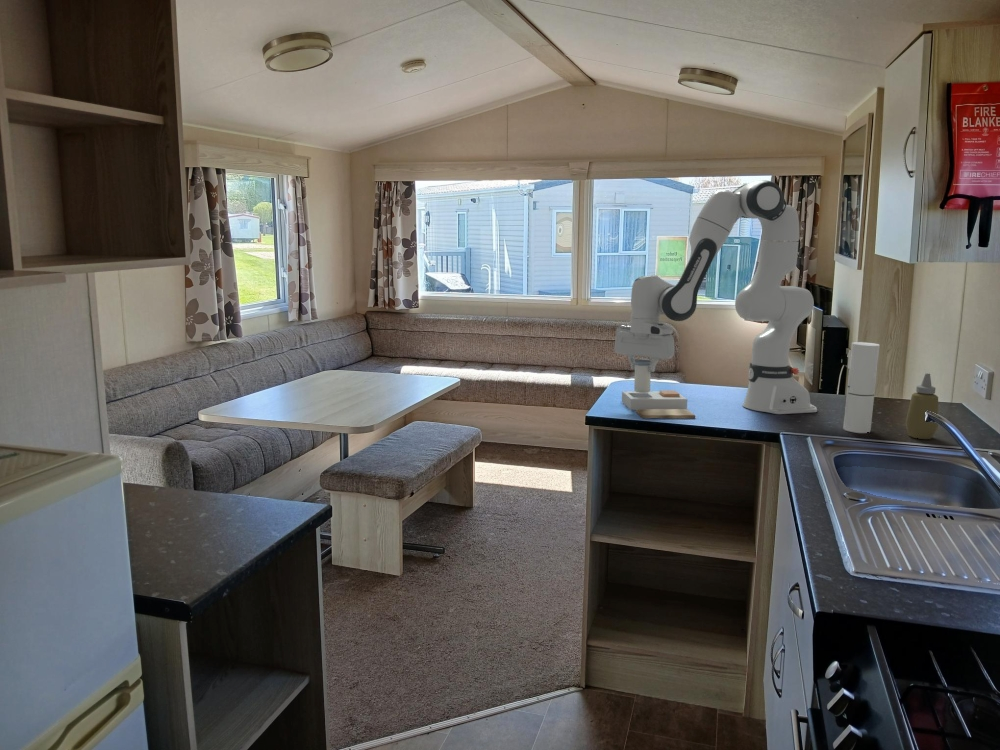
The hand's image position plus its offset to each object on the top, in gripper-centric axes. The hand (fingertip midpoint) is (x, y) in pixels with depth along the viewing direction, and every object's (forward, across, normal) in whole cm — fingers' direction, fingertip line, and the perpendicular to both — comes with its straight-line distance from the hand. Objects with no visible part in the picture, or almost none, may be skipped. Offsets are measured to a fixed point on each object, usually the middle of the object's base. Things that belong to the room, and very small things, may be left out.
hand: (642, 370), depth 245 cm
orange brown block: (+11, +6, +8) cm, 15 cm away
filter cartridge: (+7, 0, 0) cm, 7 cm away
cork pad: (+12, +12, -5) cm, 17 cm away
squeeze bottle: (+14, +75, +25) cm, 80 cm away
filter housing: (+12, +2, +4) cm, 13 cm away
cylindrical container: (+13, +60, +20) cm, 64 cm away
